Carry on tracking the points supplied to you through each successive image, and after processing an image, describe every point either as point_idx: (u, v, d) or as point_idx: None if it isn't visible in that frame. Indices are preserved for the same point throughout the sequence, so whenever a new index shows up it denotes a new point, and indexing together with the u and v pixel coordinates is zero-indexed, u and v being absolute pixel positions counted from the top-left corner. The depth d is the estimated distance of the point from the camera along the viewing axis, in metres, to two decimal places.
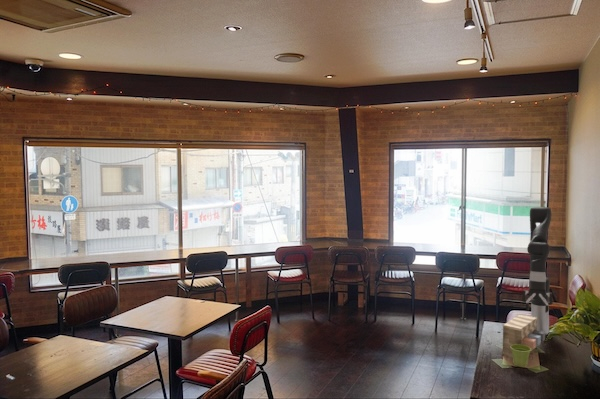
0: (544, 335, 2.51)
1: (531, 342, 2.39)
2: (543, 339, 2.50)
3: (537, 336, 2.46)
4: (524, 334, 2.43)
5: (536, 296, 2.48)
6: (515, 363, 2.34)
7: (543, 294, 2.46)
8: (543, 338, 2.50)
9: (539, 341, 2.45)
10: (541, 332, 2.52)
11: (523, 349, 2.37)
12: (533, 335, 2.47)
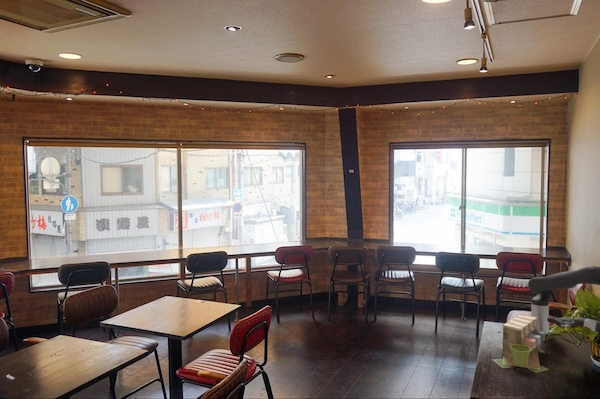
0: (544, 335, 2.51)
1: (531, 342, 2.39)
2: (543, 339, 2.50)
3: (537, 336, 2.46)
4: (524, 334, 2.43)
5: None
6: (515, 363, 2.34)
7: None
8: (543, 338, 2.50)
9: (539, 341, 2.45)
10: (541, 332, 2.52)
11: (523, 349, 2.37)
12: (533, 335, 2.47)
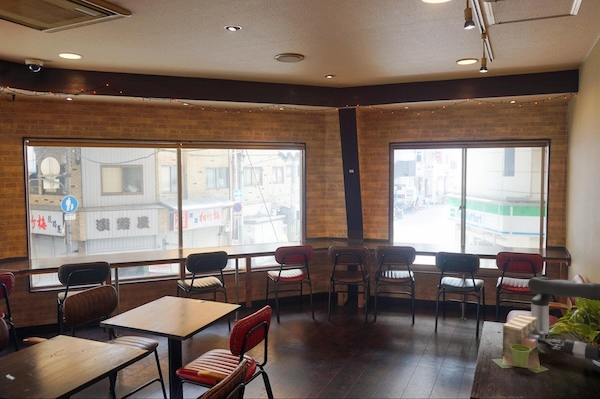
0: (544, 335, 2.51)
1: (531, 342, 2.39)
2: None
3: (536, 336, 2.46)
4: (524, 334, 2.43)
5: None
6: (515, 363, 2.34)
7: None
8: (543, 338, 2.50)
9: None
10: (541, 332, 2.52)
11: (523, 349, 2.37)
12: (532, 335, 2.48)
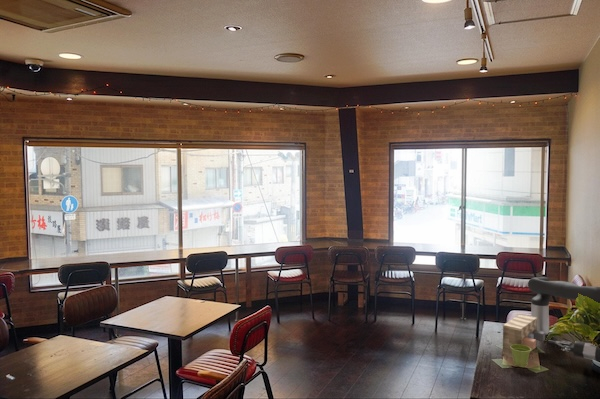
0: (544, 335, 2.51)
1: (531, 342, 2.39)
2: (543, 339, 2.50)
3: (530, 334, 2.48)
4: (524, 334, 2.43)
5: None
6: (515, 363, 2.34)
7: None
8: (543, 338, 2.50)
9: None
10: (541, 332, 2.52)
11: (523, 349, 2.37)
12: None
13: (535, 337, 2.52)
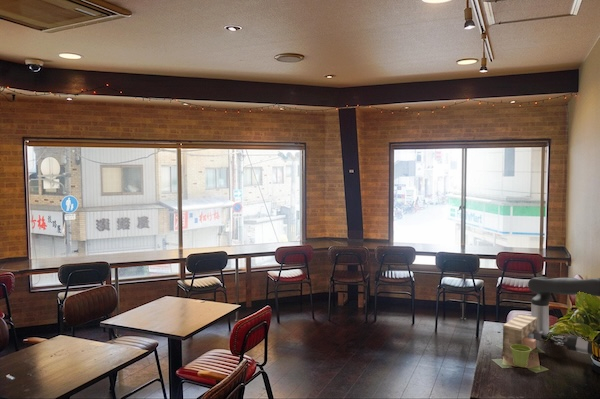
0: None
1: (531, 342, 2.39)
2: (541, 339, 2.51)
3: (530, 334, 2.48)
4: (524, 334, 2.43)
5: None
6: (515, 363, 2.34)
7: None
8: (541, 338, 2.51)
9: None
10: (539, 332, 2.52)
11: (523, 349, 2.37)
12: None
13: None
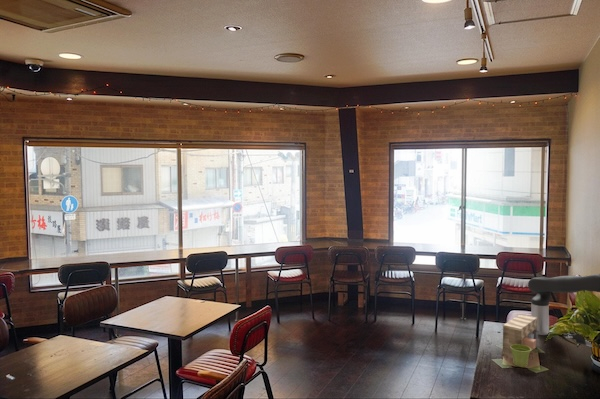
0: (537, 334, 2.54)
1: (531, 342, 2.39)
2: (536, 337, 2.53)
3: (530, 334, 2.48)
4: (524, 334, 2.43)
5: None
6: (515, 363, 2.34)
7: None
8: (536, 336, 2.53)
9: None
10: (534, 331, 2.54)
11: (523, 349, 2.37)
12: None
13: None
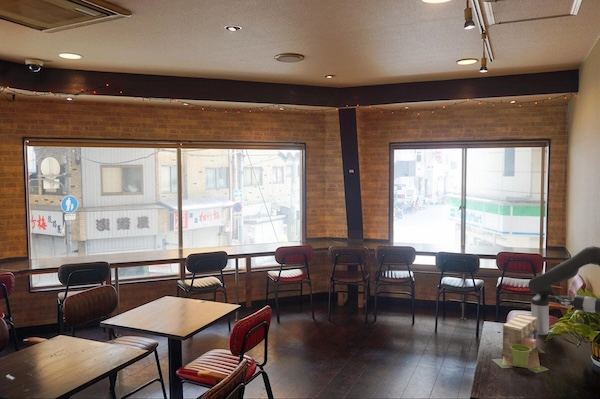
0: (537, 334, 2.54)
1: (531, 342, 2.39)
2: (536, 337, 2.53)
3: (530, 334, 2.48)
4: (524, 334, 2.43)
5: None
6: (515, 363, 2.34)
7: None
8: (536, 336, 2.53)
9: None
10: (534, 331, 2.54)
11: (523, 349, 2.37)
12: None
13: None
